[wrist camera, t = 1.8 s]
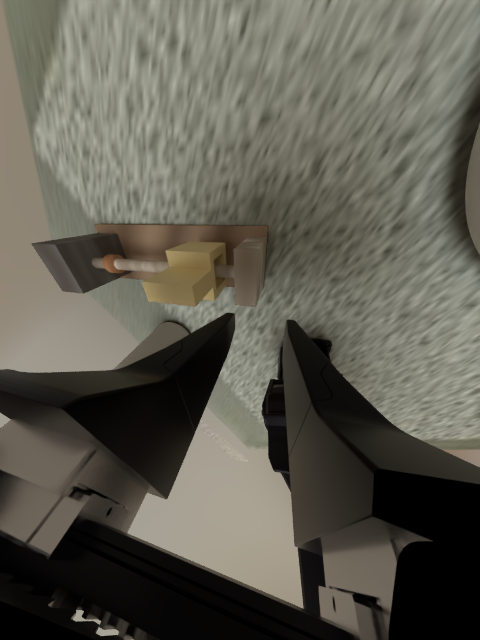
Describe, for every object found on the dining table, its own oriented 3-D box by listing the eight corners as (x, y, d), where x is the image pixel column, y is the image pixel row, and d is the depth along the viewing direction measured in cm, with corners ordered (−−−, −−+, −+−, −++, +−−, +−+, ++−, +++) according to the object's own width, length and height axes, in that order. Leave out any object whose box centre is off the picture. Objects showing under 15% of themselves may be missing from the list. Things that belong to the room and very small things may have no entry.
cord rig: (268, 225, 18) (257, 237, 12) (263, 287, 22) (253, 321, 15) (99, 223, 22) (23, 231, 16) (121, 275, 26) (67, 299, 20)
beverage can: (155, 318, 30) (92, 373, 20) (188, 320, 28) (137, 381, 19) (167, 345, 33) (118, 403, 24) (196, 348, 32) (157, 411, 22)
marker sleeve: (225, 242, 17) (188, 265, 11) (227, 283, 20) (198, 322, 13) (189, 241, 18) (134, 262, 12) (195, 280, 20) (154, 316, 14)
